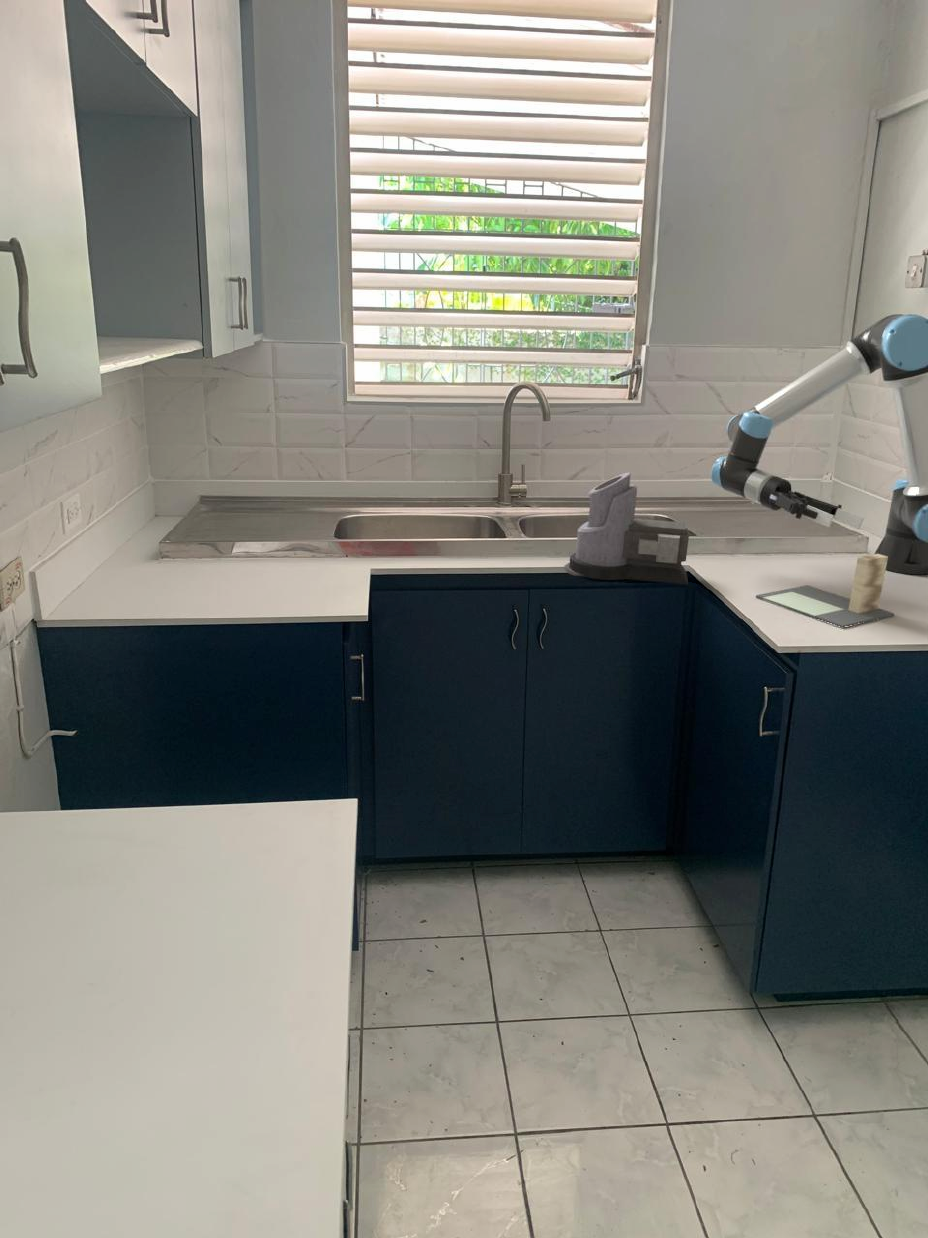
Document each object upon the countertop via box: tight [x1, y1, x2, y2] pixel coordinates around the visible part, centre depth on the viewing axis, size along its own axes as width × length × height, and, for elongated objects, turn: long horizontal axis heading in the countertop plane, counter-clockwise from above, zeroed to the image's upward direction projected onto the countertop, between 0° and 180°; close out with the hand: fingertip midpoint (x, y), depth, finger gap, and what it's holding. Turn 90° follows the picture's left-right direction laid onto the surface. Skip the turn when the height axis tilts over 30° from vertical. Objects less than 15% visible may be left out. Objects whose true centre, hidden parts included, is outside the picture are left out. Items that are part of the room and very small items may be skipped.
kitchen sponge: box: [848, 553, 888, 613], centre depth 204 cm, size 7×3×12 cm, turn 123°
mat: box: [755, 584, 895, 627], centre depth 208 cm, size 18×23×1 cm
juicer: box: [563, 472, 690, 586], centre depth 225 cm, size 30×16×24 cm, turn 80°
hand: (846, 522), depth 208 cm, fingers open, 13 cm apart
